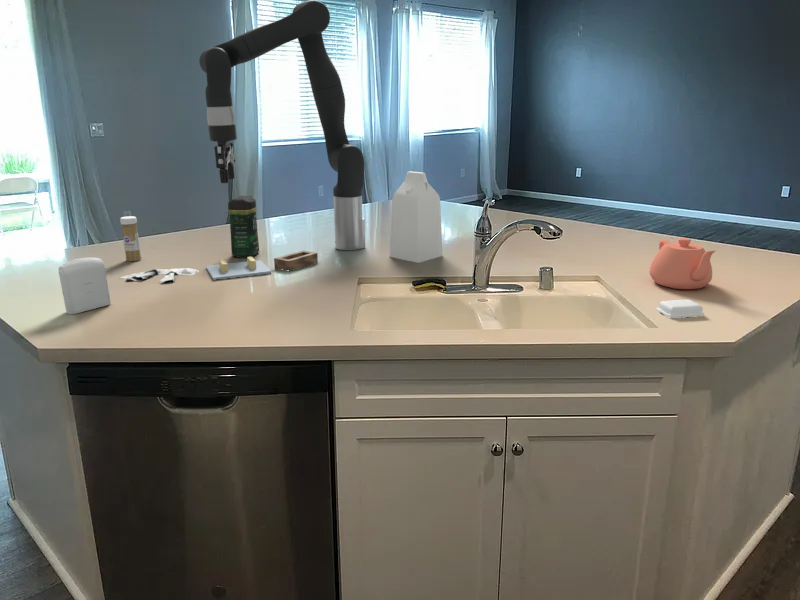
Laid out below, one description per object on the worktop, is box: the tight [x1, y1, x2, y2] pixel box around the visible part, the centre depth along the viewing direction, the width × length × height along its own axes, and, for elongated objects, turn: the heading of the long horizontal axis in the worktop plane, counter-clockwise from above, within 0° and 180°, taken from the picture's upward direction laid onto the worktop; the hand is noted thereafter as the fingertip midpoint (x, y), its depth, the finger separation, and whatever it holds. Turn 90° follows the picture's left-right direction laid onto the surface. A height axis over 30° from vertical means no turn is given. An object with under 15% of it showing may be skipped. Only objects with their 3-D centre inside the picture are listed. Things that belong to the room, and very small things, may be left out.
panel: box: [206, 256, 272, 281], centre depth 185 cm, size 16×14×3 cm
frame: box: [273, 249, 319, 272], centre depth 191 cm, size 12×6×3 cm, turn 144°
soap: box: [655, 299, 705, 319], centre depth 148 cm, size 9×7×3 cm
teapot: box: [648, 237, 716, 290], centre depth 168 cm, size 22×15×12 cm
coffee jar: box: [227, 195, 260, 259], centre depth 201 cm, size 10×8×19 cm
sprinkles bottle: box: [119, 215, 142, 263], centre depth 196 cm, size 5×5×13 cm
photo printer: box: [58, 256, 111, 315], centre depth 152 cm, size 10×4×12 cm, turn 140°
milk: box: [389, 171, 443, 264], centre depth 197 cm, size 12×12×26 cm
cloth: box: [119, 267, 200, 285], centre depth 179 cm, size 20×22×2 cm
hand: (228, 180), depth 187 cm, fingers open, 8 cm apart
